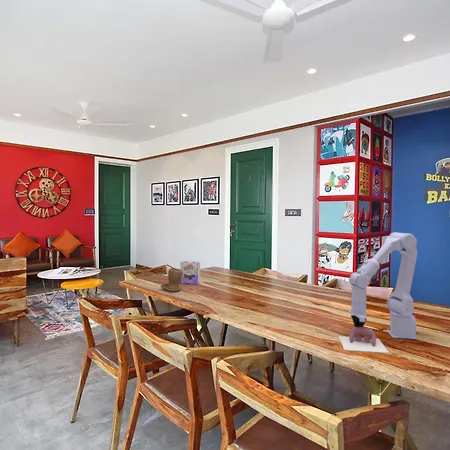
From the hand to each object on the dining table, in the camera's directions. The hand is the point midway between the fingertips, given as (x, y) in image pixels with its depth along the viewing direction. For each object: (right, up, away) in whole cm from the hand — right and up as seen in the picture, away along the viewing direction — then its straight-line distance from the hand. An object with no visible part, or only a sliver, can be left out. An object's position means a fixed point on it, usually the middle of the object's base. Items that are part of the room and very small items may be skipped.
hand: (358, 333), depth 139 cm
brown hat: (-92, +1, +87) cm, 126 cm away
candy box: (-82, +2, +107) cm, 135 cm away
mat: (-1, -2, -7) cm, 7 cm away
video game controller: (0, -2, -5) cm, 5 cm away
